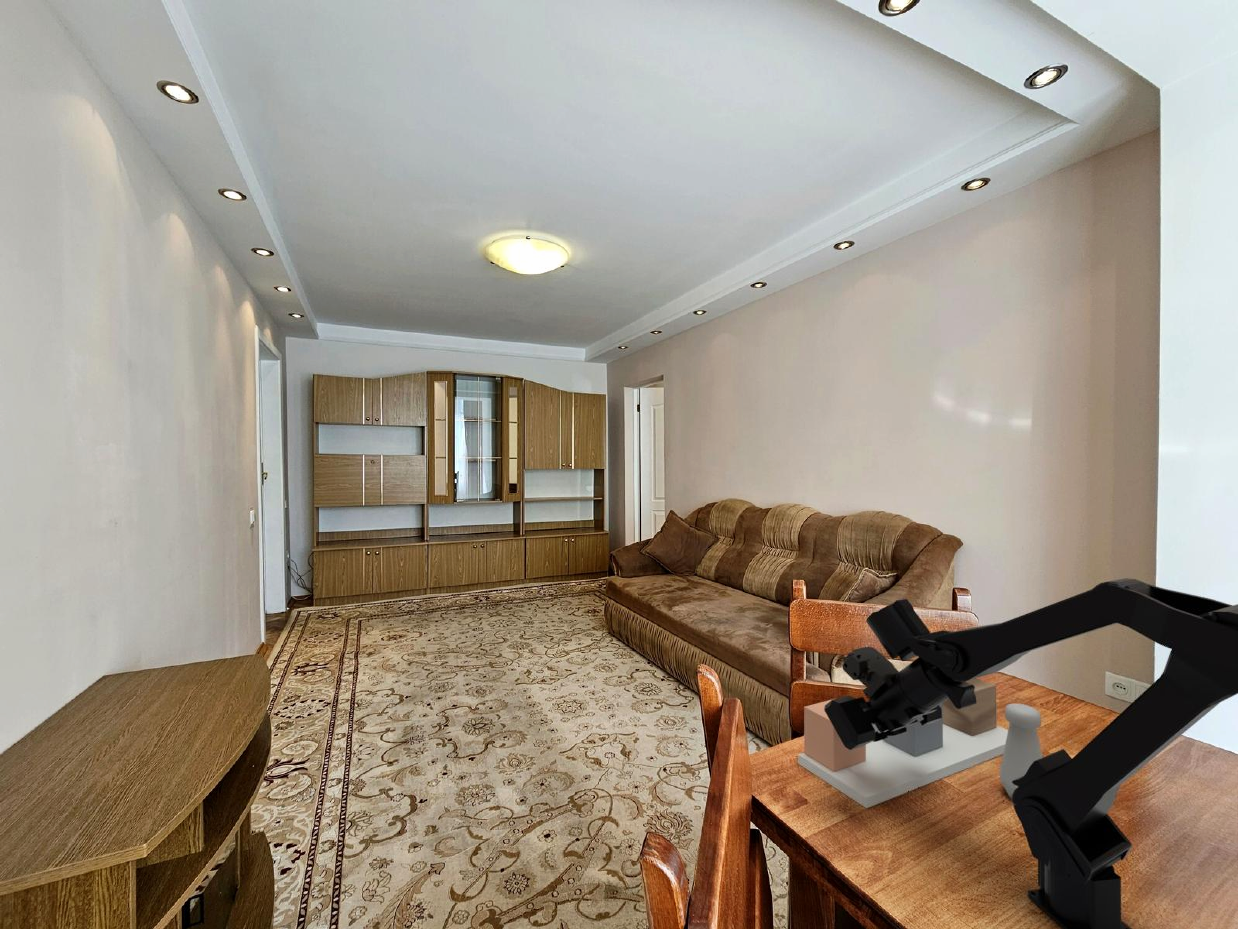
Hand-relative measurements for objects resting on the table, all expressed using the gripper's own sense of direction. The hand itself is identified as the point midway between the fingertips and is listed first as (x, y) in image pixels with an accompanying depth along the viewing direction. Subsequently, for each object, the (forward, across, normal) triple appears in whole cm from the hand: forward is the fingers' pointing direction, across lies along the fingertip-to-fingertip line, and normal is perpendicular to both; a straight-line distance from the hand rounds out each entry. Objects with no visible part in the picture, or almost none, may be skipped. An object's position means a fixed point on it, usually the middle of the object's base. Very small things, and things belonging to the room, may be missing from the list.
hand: (851, 734), depth 85 cm
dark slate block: (+4, -15, +3) cm, 16 cm away
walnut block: (+4, -30, +3) cm, 30 cm away
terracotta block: (+6, 0, +1) cm, 6 cm away
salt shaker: (-6, -18, +15) cm, 24 cm away
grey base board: (+5, -15, +5) cm, 16 cm away
